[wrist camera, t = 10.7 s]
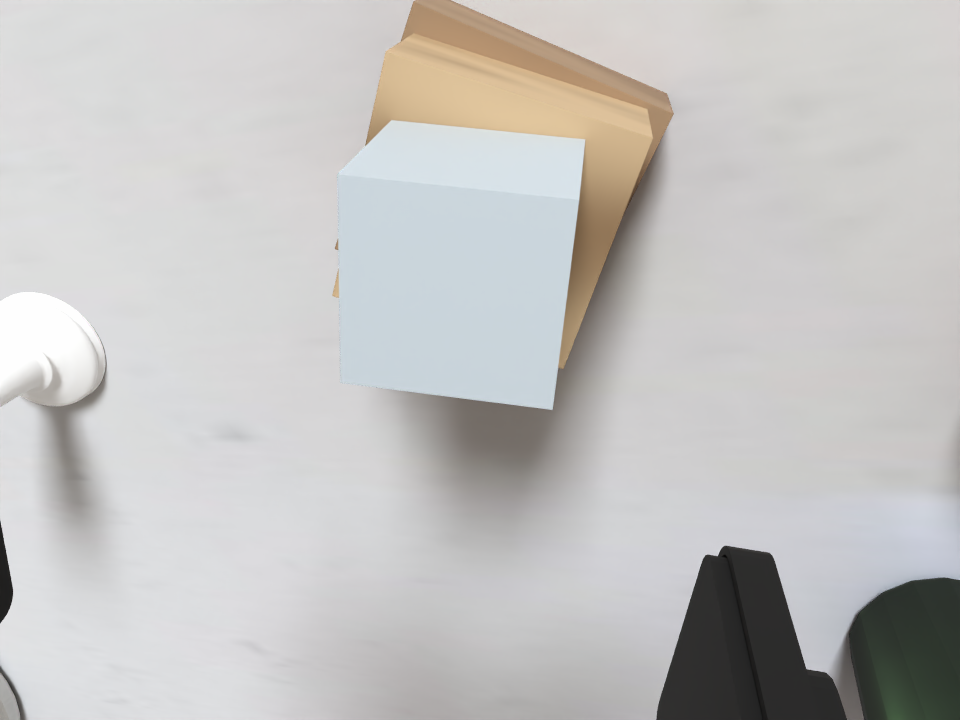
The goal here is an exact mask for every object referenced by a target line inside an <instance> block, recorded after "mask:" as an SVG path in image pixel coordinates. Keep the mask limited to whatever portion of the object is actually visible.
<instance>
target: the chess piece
mask: <svg viewBox="0 0 960 720" xmlns="http://www.w3.org/2000/svg"><path fill="white" fill-rule="evenodd" d="M105 366H106V360H105V353H104V349H103V346H102V343H101V341H100V338H99V336H98V335H97V333H96V331H95V330H94V328H93V327H92V326H91V324H90V323H89V322H88V321H87V320H86V319H85V318H84V316H82V315H81V314H80V313H79V312H78V311H77V310H75V309H74V308H73V307H71V306H70V305H68V304H67V303H65V302H63V301H61V300H59V299H57V298H54V297H52V296H49V295H45V294H41V293H33V292H25V293H18V294H14V295H11V296H9V297H7V298H5V299H4V300H2V301H1V302H0V407H1V406H3V405H4V404H6V403H8V402H9V401H11V400H13V399H14V398H16V397H18V396H21V397H23V398H24V399H27V400H29V401H31V402H34V403H37V404H41V405H46V406H65V405H70V404H73V403H75V402H78V401H79V400H81V399H83V398H84V397H85V396H87V395H89V394H91V393H92V392H93V391H94V390H95V389H96V388H97V387H98V386H99V384H100V383H101V381H102V379H103V376H104V373H105Z"/></svg>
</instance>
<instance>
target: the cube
mask: <svg viewBox="0 0 960 720" xmlns="http://www.w3.org/2000/svg"><path fill="white" fill-rule="evenodd" d="M584 148H585V139H577V138H567V137H557V136H547V135H537V134H526V133H516V132H506V131H496V130H486V129H476V128H466V127H456V126H446V125H436V124H426V123H416V122H406V121H396V120H391V121H390V122H389V123H388V124H387V125H386V126H385V127H384V128H383V129H382V130H381V131H380V132H379V133H378V134H377V135H376V136H375V137H374V138H373V139H372V140H371V141H370V142H369V143H368V144H367V145H366V146H365V147H364V148H363V149H362V150H361V151H360V152H359V153H358V154H357V155H356V156H355V157H354V158H353V159H352V160H351V161H350V162H349V163H348V164H347V165H346V166H345V167H344V168H343V169H342V170H341V171H340V172H339V173H338V174H337V188H338V256H339V324H340V383H344V384H352V385H360V386H368V387H376V388H384V389H392V390H400V391H407V392H415V393H423V394H431V395H439V396H447V397H455V398H463V399H471V400H478V401H486V402H494V403H502V404H510V405H518V406H526V407H534V408H541V409H549V410H553V403H554V395H555V387H556V379H557V372H558V364H559V356H560V348H561V340H562V332H563V324H564V316H565V308H566V300H567V292H568V285H569V277H570V269H571V261H572V253H573V245H574V237H575V229H576V221H577V213H578V205H579V197H580V187H581V177H582V168H583V158H584Z"/></svg>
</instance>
